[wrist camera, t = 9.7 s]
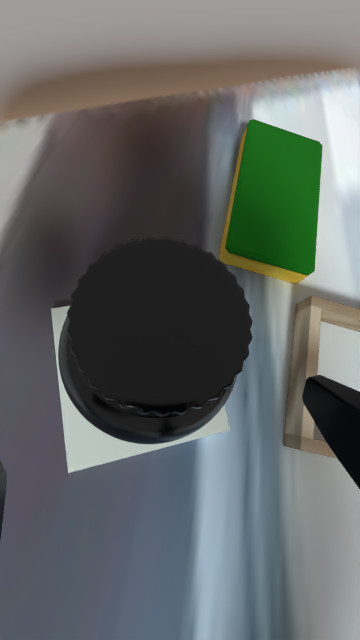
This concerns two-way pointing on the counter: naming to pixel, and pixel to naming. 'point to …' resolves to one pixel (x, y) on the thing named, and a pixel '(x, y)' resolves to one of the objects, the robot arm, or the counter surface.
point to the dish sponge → (274, 204)
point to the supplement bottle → (154, 340)
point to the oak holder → (310, 367)
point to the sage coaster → (93, 444)
